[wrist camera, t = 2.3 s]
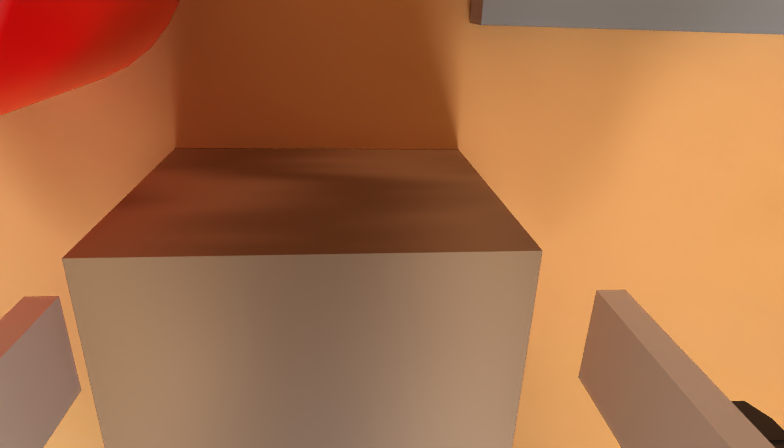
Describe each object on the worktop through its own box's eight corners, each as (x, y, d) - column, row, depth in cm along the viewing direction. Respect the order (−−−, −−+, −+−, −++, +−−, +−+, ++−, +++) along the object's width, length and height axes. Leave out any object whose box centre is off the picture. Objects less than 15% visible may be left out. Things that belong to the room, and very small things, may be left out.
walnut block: (205, 379, 18) (136, 588, 12) (176, 147, 15) (61, 258, 9) (439, 370, 19) (494, 560, 13) (457, 148, 16) (542, 251, 10)
